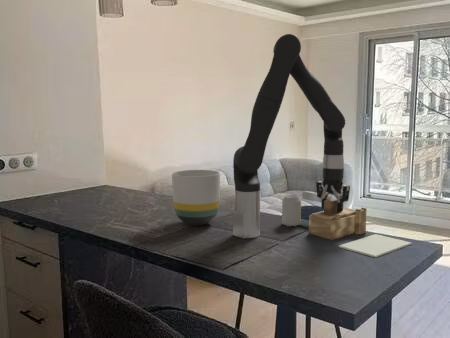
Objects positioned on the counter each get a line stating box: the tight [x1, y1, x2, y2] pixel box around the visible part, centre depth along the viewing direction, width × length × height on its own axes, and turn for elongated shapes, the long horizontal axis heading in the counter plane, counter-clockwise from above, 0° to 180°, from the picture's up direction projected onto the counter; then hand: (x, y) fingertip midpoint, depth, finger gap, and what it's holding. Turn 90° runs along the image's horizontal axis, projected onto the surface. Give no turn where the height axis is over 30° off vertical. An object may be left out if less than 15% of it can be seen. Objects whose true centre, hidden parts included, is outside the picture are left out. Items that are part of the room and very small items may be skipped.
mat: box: [338, 233, 413, 259], centre depth 150 cm, size 22×14×1 cm, turn 129°
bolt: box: [301, 190, 333, 203], centre depth 180 cm, size 2×14×3 cm, turn 39°
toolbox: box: [308, 207, 368, 241], centre depth 166 cm, size 18×15×10 cm
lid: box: [310, 198, 356, 221], centre depth 165 cm, size 18×9×7 cm, turn 129°
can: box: [281, 194, 302, 227], centre depth 178 cm, size 8×8×12 cm
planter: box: [171, 169, 221, 226], centre depth 179 cm, size 20×20×21 cm
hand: (332, 210), depth 163 cm, fingers open, 6 cm apart
